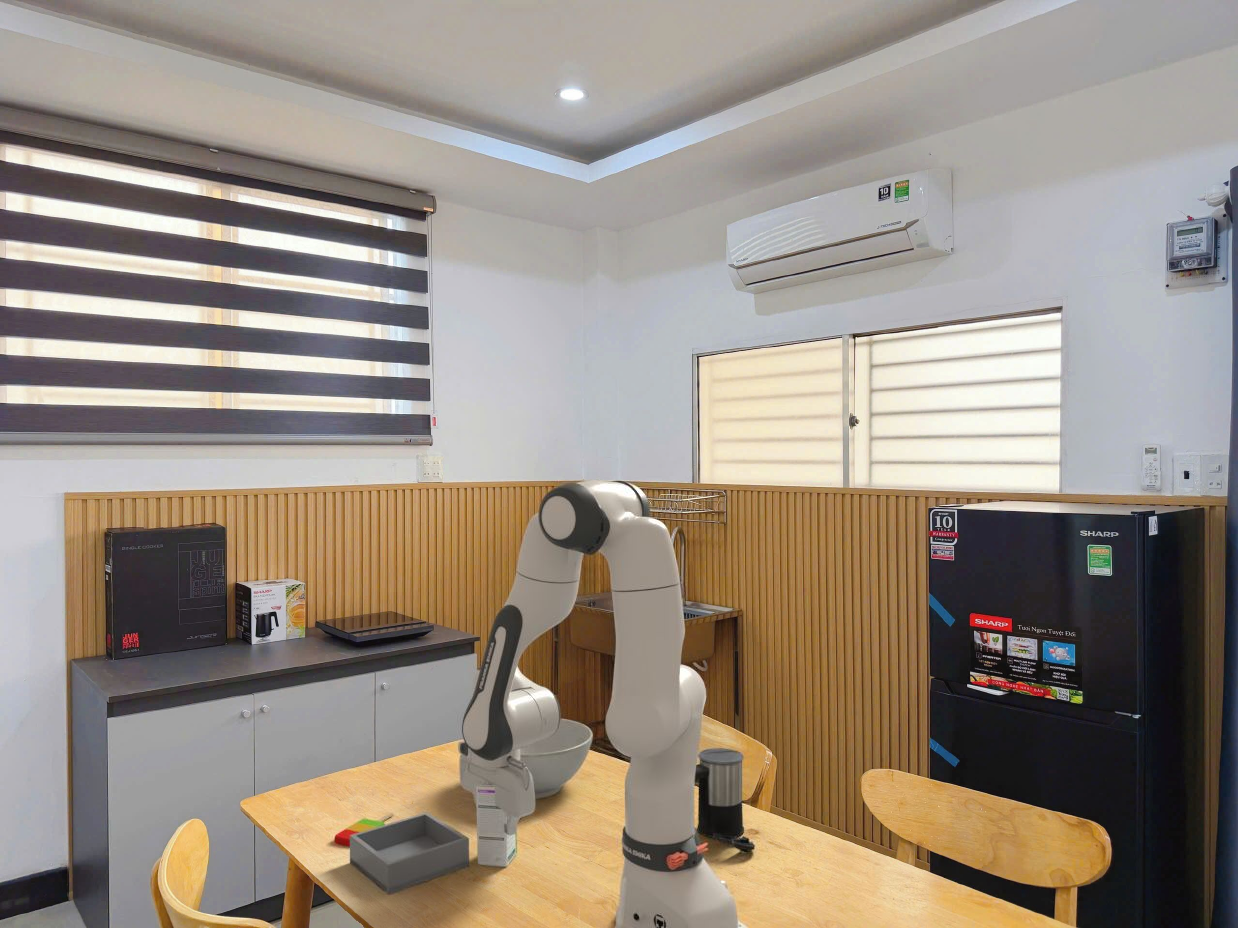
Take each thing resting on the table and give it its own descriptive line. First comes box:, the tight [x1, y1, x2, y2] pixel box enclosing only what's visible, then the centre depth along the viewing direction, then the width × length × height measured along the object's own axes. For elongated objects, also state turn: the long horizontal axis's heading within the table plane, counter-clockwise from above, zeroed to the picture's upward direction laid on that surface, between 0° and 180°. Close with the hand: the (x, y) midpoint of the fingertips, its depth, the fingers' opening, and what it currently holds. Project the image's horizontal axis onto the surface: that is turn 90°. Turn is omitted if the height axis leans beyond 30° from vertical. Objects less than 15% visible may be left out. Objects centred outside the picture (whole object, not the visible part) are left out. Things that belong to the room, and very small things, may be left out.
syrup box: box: [475, 781, 518, 868], centre depth 157 cm, size 6×6×14 cm
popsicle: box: [333, 812, 394, 848], centre depth 171 cm, size 6×15×2 cm, turn 157°
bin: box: [349, 811, 470, 895], centre depth 156 cm, size 16×16×5 cm
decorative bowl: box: [519, 718, 594, 800], centre depth 192 cm, size 27×27×12 cm
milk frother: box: [694, 747, 756, 854], centre depth 166 cm, size 14×16×15 cm
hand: (496, 825), depth 157 cm, fingers closed on syrup box, 8 cm apart
